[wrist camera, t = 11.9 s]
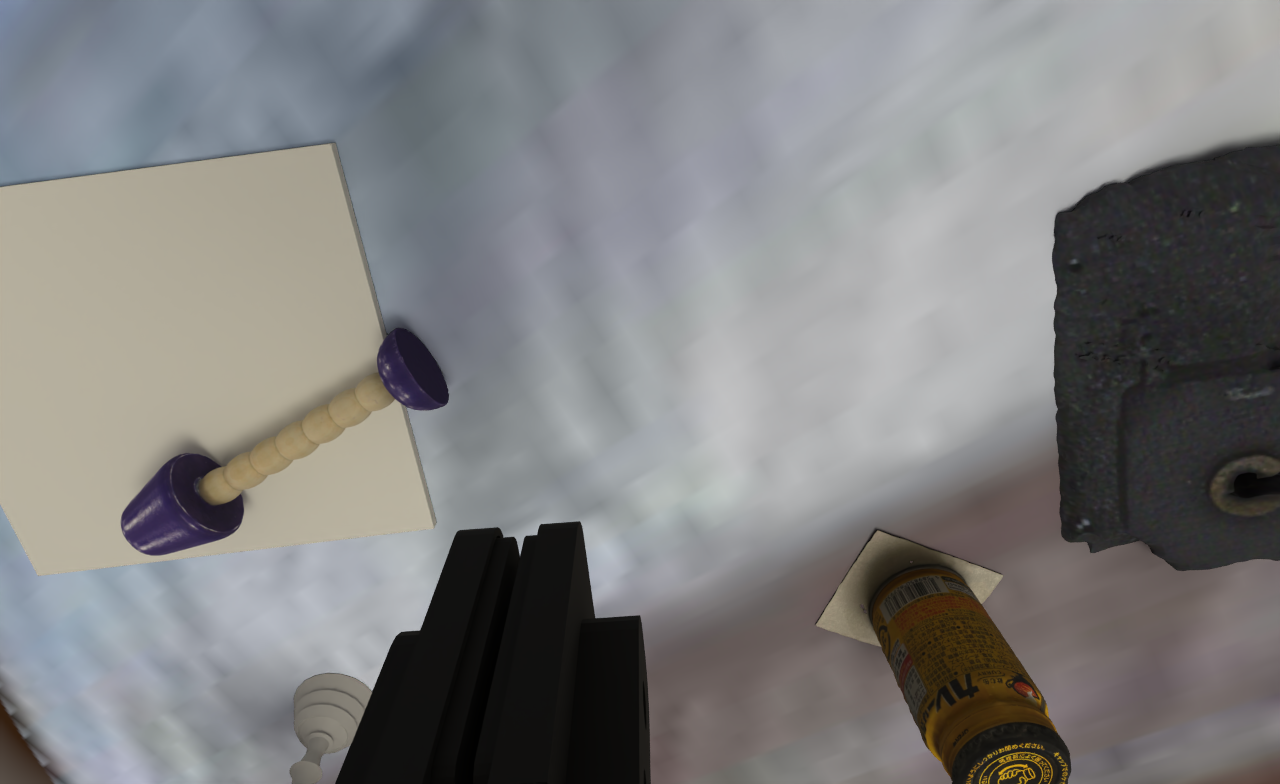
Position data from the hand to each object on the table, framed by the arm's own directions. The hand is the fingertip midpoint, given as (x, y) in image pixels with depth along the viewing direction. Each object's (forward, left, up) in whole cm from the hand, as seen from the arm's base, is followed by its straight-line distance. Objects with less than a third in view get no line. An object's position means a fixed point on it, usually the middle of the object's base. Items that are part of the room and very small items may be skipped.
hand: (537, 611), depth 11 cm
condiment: (+24, +15, -27) cm, 39 cm away
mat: (+5, -22, -27) cm, 35 cm away
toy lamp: (+5, -8, -25) cm, 27 cm away
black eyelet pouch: (+11, +30, -28) cm, 42 cm away
